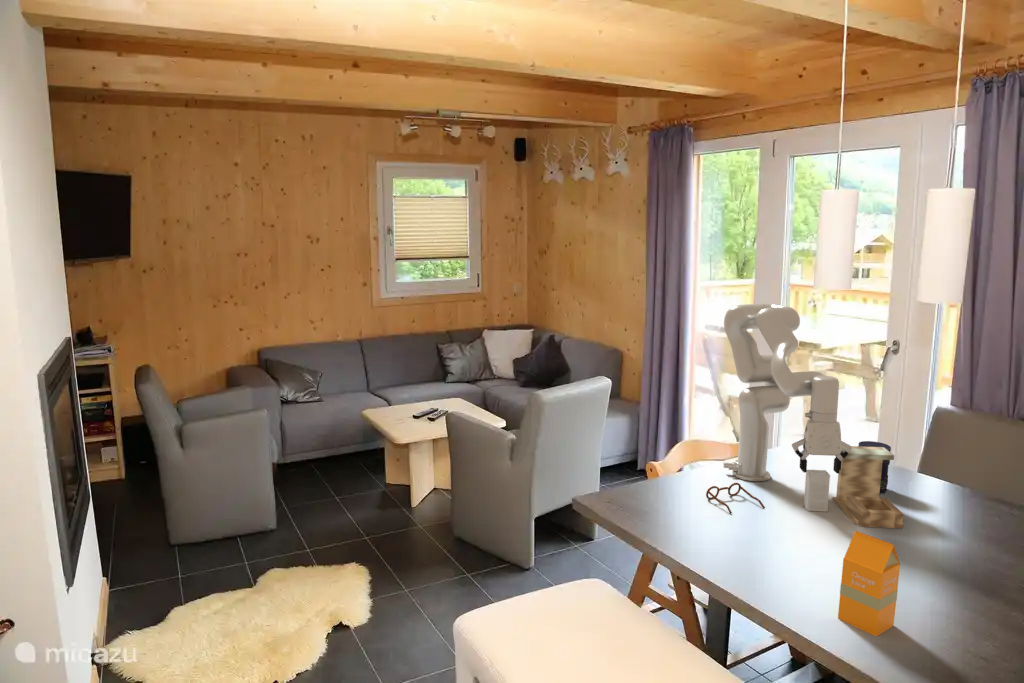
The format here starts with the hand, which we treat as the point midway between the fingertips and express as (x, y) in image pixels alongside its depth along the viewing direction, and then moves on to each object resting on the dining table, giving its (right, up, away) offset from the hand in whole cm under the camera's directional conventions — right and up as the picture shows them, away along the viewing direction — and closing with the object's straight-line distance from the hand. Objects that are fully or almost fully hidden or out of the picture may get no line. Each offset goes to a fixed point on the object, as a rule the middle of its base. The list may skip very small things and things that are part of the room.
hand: (819, 471), depth 222 cm
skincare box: (0, -12, +3) cm, 13 cm away
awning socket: (+14, -13, 0) cm, 19 cm away
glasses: (-24, -12, +6) cm, 28 cm away
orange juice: (-15, -23, -60) cm, 66 cm away
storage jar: (+25, -10, +20) cm, 34 cm away
